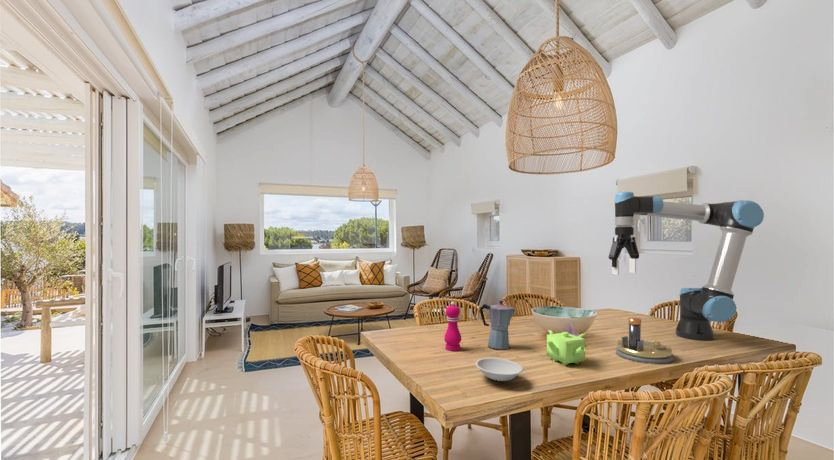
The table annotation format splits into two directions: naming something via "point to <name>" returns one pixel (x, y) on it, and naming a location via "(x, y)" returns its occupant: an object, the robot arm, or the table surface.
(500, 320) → the moka pot
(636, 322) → the pin
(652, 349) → the gold and gray disc
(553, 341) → the green animal planter
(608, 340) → the table surface
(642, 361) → the base plate
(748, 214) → the robot arm
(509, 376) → the dish
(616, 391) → the table surface
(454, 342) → the pepper mill
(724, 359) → the table surface
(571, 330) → the lily
